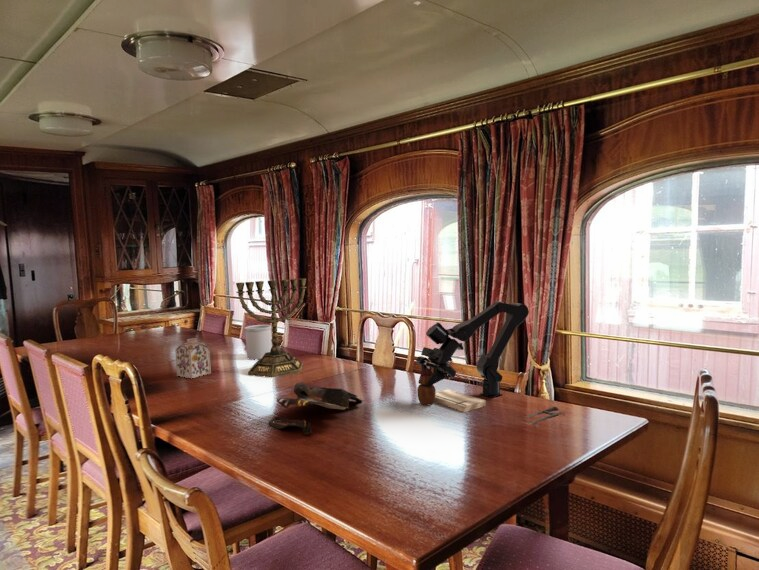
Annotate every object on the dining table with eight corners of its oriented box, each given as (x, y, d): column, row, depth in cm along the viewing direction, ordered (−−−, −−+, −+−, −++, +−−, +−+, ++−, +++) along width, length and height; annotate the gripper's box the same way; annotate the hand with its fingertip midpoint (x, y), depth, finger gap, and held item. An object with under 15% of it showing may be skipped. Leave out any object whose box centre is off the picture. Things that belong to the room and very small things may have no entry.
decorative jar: (211, 373, 250) (209, 337, 249) (191, 379, 241) (189, 341, 239) (196, 371, 257) (194, 336, 256) (175, 376, 247) (173, 340, 246)
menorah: (298, 360, 274) (295, 277, 271) (320, 368, 254) (316, 279, 250) (232, 371, 254) (227, 281, 251) (250, 381, 233) (245, 284, 230)
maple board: (448, 394, 204) (448, 388, 204) (485, 405, 188) (485, 400, 187) (427, 399, 197) (427, 394, 197) (464, 412, 181) (464, 406, 181)
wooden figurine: (437, 402, 193) (436, 363, 192) (433, 407, 188) (432, 367, 187) (419, 401, 196) (419, 362, 195) (416, 405, 190) (415, 366, 189)
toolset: (319, 392, 208) (365, 357, 199) (341, 436, 202) (390, 401, 192) (249, 406, 174) (301, 363, 164) (273, 459, 167) (329, 418, 157)
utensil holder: (241, 360, 280) (239, 328, 279) (252, 354, 295) (251, 324, 294) (266, 360, 278) (265, 328, 277) (276, 354, 293) (275, 324, 291)
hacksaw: (554, 409, 183) (554, 405, 183) (579, 417, 174) (579, 412, 174) (506, 422, 170) (506, 418, 170) (530, 431, 162) (530, 427, 161)
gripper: (419, 335, 200) (396, 367, 195) (449, 342, 184) (425, 377, 179) (435, 352, 205) (413, 384, 200) (466, 361, 189) (443, 395, 184)
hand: (423, 384), depth 191 cm, fingers closed on wooden figurine, 5 cm apart
